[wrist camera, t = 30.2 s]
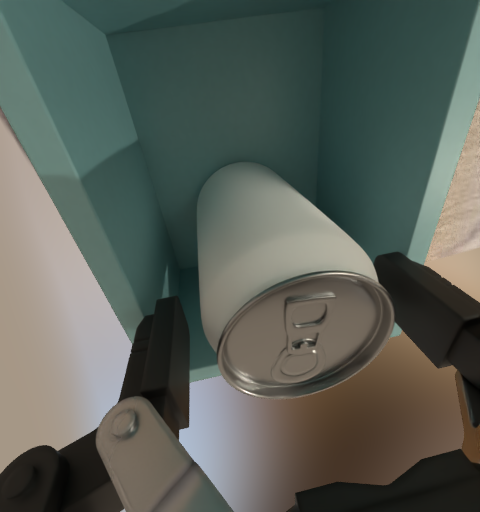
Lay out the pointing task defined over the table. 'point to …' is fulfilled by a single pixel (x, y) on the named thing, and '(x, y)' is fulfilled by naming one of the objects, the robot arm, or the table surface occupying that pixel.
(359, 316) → the can
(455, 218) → the table surface
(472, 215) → the table surface
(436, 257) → the table surface
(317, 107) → the teal open box
